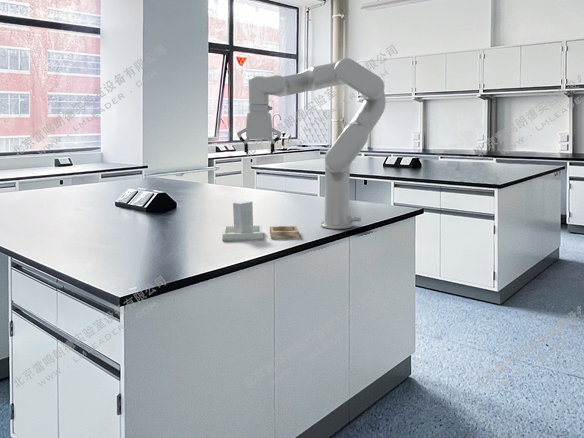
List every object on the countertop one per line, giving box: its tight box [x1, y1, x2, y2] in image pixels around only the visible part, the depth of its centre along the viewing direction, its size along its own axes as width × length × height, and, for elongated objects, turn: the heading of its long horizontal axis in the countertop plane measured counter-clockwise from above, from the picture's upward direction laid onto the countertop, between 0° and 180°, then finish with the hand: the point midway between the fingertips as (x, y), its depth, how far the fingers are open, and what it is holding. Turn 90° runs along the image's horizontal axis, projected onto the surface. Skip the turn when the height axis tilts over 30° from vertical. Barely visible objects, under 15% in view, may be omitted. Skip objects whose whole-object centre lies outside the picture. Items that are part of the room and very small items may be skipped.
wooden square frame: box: [269, 225, 300, 240], centre depth 193 cm, size 10×10×2 cm
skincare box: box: [232, 200, 254, 233], centre depth 191 cm, size 6×4×12 cm
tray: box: [222, 225, 264, 242], centre depth 192 cm, size 14×14×2 cm
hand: (259, 154), depth 207 cm, fingers open, 9 cm apart
